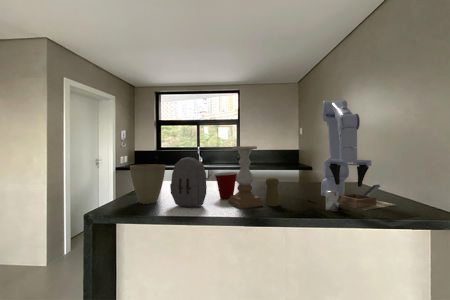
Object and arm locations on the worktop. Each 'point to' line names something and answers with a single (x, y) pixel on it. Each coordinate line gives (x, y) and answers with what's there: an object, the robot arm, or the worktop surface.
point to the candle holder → (244, 182)
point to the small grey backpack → (188, 183)
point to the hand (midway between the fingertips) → (348, 185)
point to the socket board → (362, 201)
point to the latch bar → (372, 190)
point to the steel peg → (331, 200)
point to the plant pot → (147, 181)
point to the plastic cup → (226, 184)
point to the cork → (272, 192)
